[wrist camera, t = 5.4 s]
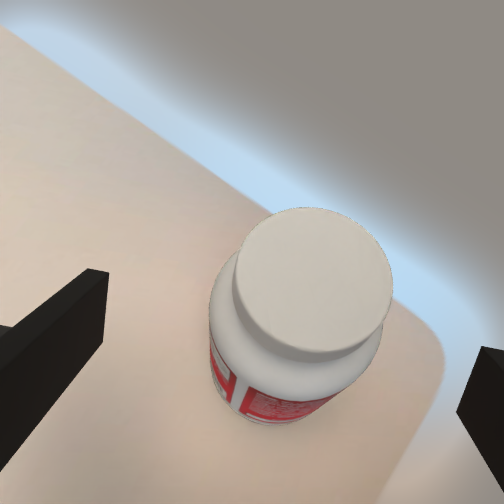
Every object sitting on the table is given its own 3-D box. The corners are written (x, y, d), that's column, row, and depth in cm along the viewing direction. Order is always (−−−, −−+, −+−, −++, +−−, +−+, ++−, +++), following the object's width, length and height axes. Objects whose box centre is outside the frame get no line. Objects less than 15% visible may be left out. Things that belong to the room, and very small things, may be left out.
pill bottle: (352, 357, 23) (457, 266, 13) (280, 455, 21) (343, 434, 11) (261, 283, 25) (294, 153, 15) (184, 367, 22) (162, 279, 12)
